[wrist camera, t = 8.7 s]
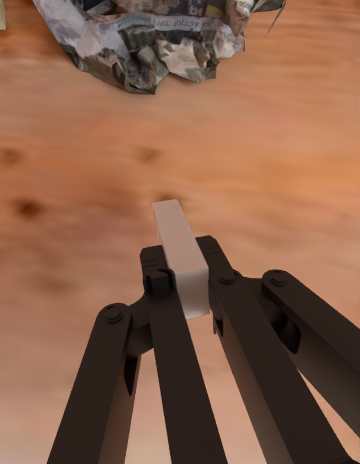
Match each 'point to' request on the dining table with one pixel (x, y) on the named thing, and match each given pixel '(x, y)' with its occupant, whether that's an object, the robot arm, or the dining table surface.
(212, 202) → the dining table surface
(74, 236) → the dining table surface
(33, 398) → the dining table surface
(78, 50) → the grey crumpled lump
